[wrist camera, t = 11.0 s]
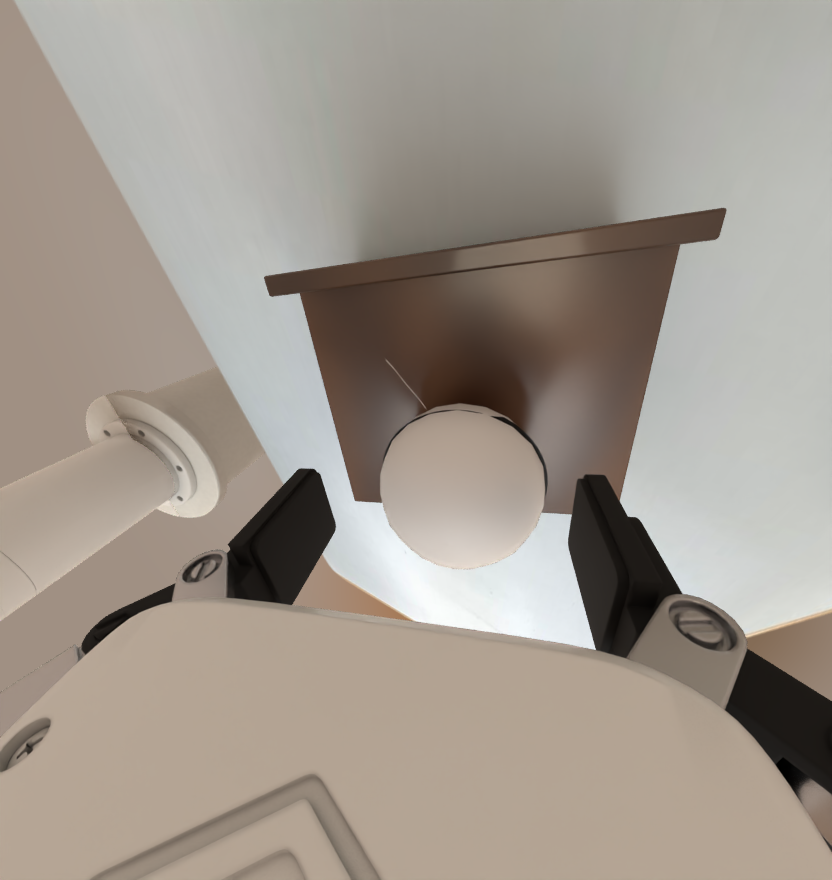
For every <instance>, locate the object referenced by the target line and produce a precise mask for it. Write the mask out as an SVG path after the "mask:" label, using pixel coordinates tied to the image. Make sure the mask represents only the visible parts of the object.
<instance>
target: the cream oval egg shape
mask: <svg viewBox="0 0 832 880" xmlns="http://www.w3.org/2000/svg"><path fill="white" fill-rule="evenodd" d="M386 361H387V360H386ZM387 362H388V361H387ZM388 363H389V362H388ZM389 365H390V366H391V367H392V368H393V369H394V367H393V366H392V365H391V364H390V363H389ZM394 370H395V369H394ZM395 371H396V370H395ZM396 372H397V371H396ZM397 374H398V372H397ZM398 375H399V374H398ZM399 376H400V375H399ZM400 378H401V376H400ZM401 379H402V378H401ZM402 380H403V379H402ZM403 382H404V383H405V381H404V380H403ZM405 384H406V383H405ZM406 385H407V384H406ZM407 387H408V388H409V389H410V387H409V386H408V385H407ZM410 390H411V389H410ZM411 391H412V390H411ZM412 392H413V391H412ZM413 393H414V392H413ZM414 394H415V393H414ZM415 396H416V397H417V395H416V394H415ZM417 398H418V397H417ZM418 399H419V398H418ZM419 400H420V399H419ZM420 402H421V400H420ZM421 403H422V402H421ZM422 404H423V403H422ZM423 406H424V404H423ZM424 407H425V406H424ZM425 408H426V407H425ZM547 486H548V475H547V469H546V465H545V462H544V459H543V456H542V454H541V453H540V451H539V449H538V447H537V446H536V444H535V443H534V442H533V440H532V439H531V438H530V437H529V436H528V435H527V434H526V433H525V432H524V431H523V430H522V429H521V428H520V427H518V426H517V425H516V424H515V423H514V422H513V421H512V420H510V419H509V418H508V417H506V416H504V415H502V414H500V413H497V412H495V411H493V410H491V409H489V408H487V407H482V406H475V405H468V404H462V403H459V404H452V405H446V406H439V407H435V408H433V409H431V410H429V411H427V412H425V413H423V414H421V415H419V416H417V417H415V418H414V419H413V420H412V421H411V422H409V423H407V424H406V425H405V426H403V427H402V428H401V429H400V430H399V431H398V432H397V433H396V434H395V435H394V437H393V438H392V439H391V441H390V442H389V444H388V446H387V449H386V451H385V454H384V458H383V465H382V470H381V474H380V495H381V499H382V503H383V507H384V511H385V513H386V516H387V519H388V521H389V524H390V526H391V528H392V529H393V530H394V532H395V533H396V534H397V535H398V537H399V538H400V539H401V541H402V542H404V543H405V544H406V545H407V546H408V547H409V548H410V549H411V550H412V551H414V552H415V553H416V554H418V555H419V556H420V557H422V558H423V559H425V560H427V561H429V562H432V563H434V564H436V565H439V566H443V567H447V568H451V569H473V568H478V567H483V566H486V565H490V564H493V563H496V562H498V561H500V560H502V559H504V558H506V557H508V556H510V555H512V554H513V553H515V552H516V550H517V549H518V548H519V547H520V546H521V545H522V544H523V543H524V542H525V541H526V539H527V538H528V537H529V535H530V534H531V533H532V531H533V530H534V528H535V527H536V526H537V523H538V521H539V518H540V515H541V512H542V509H543V506H544V499H545V496H546V493H547Z"/></svg>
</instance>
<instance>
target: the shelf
mask: <svg viewBox="0 0 832 880" xmlns="http://www.w3.org/2000/svg"><path fill="white" fill-rule="evenodd" d="M725 214H726V208H719V209H712V210H705V211H699V212H692V213H685V214H678V215H672V216H665V217H658V218H652V219H645V220H638V221H631V222H625V223H618V224H611V225H605V226H598V227H591V228H584V229H578V230H571V231H564V232H558V233H551V234H544V235H537V236H531V237H524V238H517V239H510V240H504V241H497V242H490V243H484V244H477V245H470V246H463V247H457V248H450V249H443V250H437V251H430V252H423V253H416V254H410V255H403V256H396V257H390V258H383V259H376V260H369V261H363V262H356V263H349V264H342V265H336V266H329V267H322V268H316V269H309V270H302V271H295V272H289V273H282V274H275V275H269V276H265V277H264V279H265V283H266V286H267V289H268V292H269V295H270V296H272V297H273V296H281V295H289V294H297V293H300V296H301V300H302V303H303V307H304V311H305V315H306V318H307V322H308V326H309V330H310V334H311V337H312V341H313V345H314V349H315V352H316V356H317V360H318V364H319V367H320V371H321V375H322V379H323V382H324V386H325V390H326V394H327V398H328V401H329V405H330V409H331V413H332V416H333V420H334V424H335V428H336V431H337V435H338V439H339V443H340V446H341V450H342V454H343V458H344V462H345V465H346V469H347V473H348V477H349V480H350V484H351V488H352V492H353V495H354V499H355V501H362V502H379V503H382V499H381V495H380V474H381V470H382V465H383V458H384V454H385V451H386V449H387V446H388V444H389V442H390V441H391V439H392V438H393V437H394V435H395V434H396V433H397V432H398V431H399V430H400V429H401V428H402V427H403V426H405V425H406V424H407V423H409V422H411V421H412V420H413V419H414V418H415V417H417V416H419V415H421V414H423V413H425V412H427V411H429V410H431V409H433V408H435V407H439V406H446V405H452V404H459V403H462V404H468V405H475V406H482V407H487V408H489V409H491V410H493V411H495V412H497V413H500V414H502V415H504V416H506V417H508V418H509V419H510V420H512V421H513V422H514V423H515V424H516V425H517V426H518V427H520V428H521V429H522V430H523V431H524V432H525V433H526V434H527V435H528V436H529V437H530V438H531V439H532V440H533V442H534V443H535V444H536V446H537V447H538V449H539V451H540V453H541V454H542V456H543V459H544V462H545V465H546V469H547V475H548V486H547V493H546V496H545V499H544V506H543V509H542V513H559V514H572V511H573V504H574V497H575V490H576V484H577V480H578V479H583V477H584V475H585V474H595V475H605V476H606V477H607V479H608V481H609V483H610V484H611V486H612V488H613V490H614V492H615V494H616V496H617V498H618V499H619V501H620V496H621V492H622V488H623V484H624V479H625V475H626V471H627V467H628V463H629V458H630V454H631V450H632V446H633V441H634V437H635V433H636V429H637V425H638V420H639V416H640V412H641V408H642V403H643V399H644V395H645V391H646V386H647V382H648V378H649V374H650V370H651V365H652V361H653V357H654V353H655V348H656V344H657V340H658V336H659V332H660V327H661V323H662V319H663V315H664V310H665V306H666V302H667V298H668V293H669V289H670V285H671V281H672V277H673V272H674V268H675V264H676V260H677V255H678V251H679V247H680V244H687V243H694V242H702V241H710V240H715V239H717V238H718V237H719V235H720V232H721V228H722V224H723V221H724V217H725ZM386 360H387V361H388V362H389V363H390V364H391V365H392V366H393V367H394V369H395V370H396V371H397V372H398V374H399V375H400V376H401V378H402V379H403V380H404V381H405V383H406V384H407V385H408V386H409V387H410V389H411V390H412V391H413V392H414V393H415V394H416V395H417V397H418V398H419V399H420V400H421V402H422V403H423V404H424V406H425V407H426V408H425V407H424V406H423V404H422V403H421V402H420V400H419V399H418V398H417V397H416V396H415V394H414V393H413V392H412V391H411V390H410V389H409V388H408V387H407V385H406V384H405V383H404V382H403V380H402V379H401V378H400V376H399V375H398V374H397V372H396V371H395V370H394V369H393V368H392V367H391V366H390V365H389V363H388V362H387V361H386Z"/></svg>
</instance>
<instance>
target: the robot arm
mask: <svg viewBox="0 0 832 880" xmlns="http://www.w3.org/2000/svg"><path fill="white" fill-rule="evenodd" d="M99 442H100V443H98V444H96V445H94V446H92V447H90V448H87V449H85V450H84V451H81V452H79V453H76V454H74V455H73V456H70V457H68V458H65V459H64V460H61V461H59V462H57V463H55V464H52V465H50V466H48V467H46V468H44V469H41V470H39V471H37V472H35V473H33V474H30V475H28V476H26V477H24V478H22V479H20V480H17V481H15V482H13V483H11V484H9V485H7V486H4V487H2V488H0V621H1V620H3V619H4V618H5V617H7V616H8V615H9V614H11V613H12V612H14V611H15V610H16V609H18V608H19V607H21V606H22V605H23V604H25V603H26V602H27V601H29V600H30V599H32V598H33V597H34V596H35V595H37V594H38V593H40V592H41V591H43V590H44V589H46V588H47V587H48V586H49V585H51V584H52V583H54V582H55V581H57V580H58V579H59V578H61V577H62V576H64V575H65V574H66V573H68V572H69V571H70V570H72V569H73V568H75V567H76V566H77V565H79V564H80V563H81V562H83V561H84V560H86V559H87V558H88V557H90V556H91V555H93V554H94V553H95V552H97V551H98V550H99V549H101V548H102V547H104V546H105V545H106V544H108V543H109V542H111V541H112V540H113V539H114V538H116V537H117V536H119V535H120V534H122V533H123V532H124V531H126V530H127V529H128V528H130V527H131V526H133V525H134V524H135V523H137V522H138V521H140V520H141V519H142V518H144V517H145V516H146V515H148V514H149V513H151V512H152V511H153V510H155V509H156V508H158V507H159V506H160V505H166V506H178V505H182V504H184V503H185V502H187V501H188V500H189V499H191V498H192V497H193V496H194V494H195V492H196V487H197V482H196V476H195V473H194V470H193V468H192V466H191V464H190V462H189V460H188V459H187V457H186V456H185V454H184V453H183V452H182V451H181V450H180V449H179V447H178V446H177V445H176V444H175V443H174V442H173V441H172V440H171V439H169V438H168V437H167V436H166V435H164V434H163V433H162V432H160V431H159V430H157V429H155V428H154V427H152V426H150V425H148V424H146V423H143V422H141V421H137V420H134V419H126V418H123V419H117V420H115V421H113V422H110V423H108V424H106V425H105V426H104V427H103V428H102V430H101V431H100V436H99ZM335 528H336V524H335V520H334V517H333V514H332V511H331V508H330V504H329V501H328V498H327V495H326V491H325V488H324V485H323V482H322V479H321V476H320V474H319V473H317V472H316V470H315V469H298V470H297V471H296V472H295V473H294V474H293V475H292V477H291V478H290V479H289V480H288V481H287V482H286V483H285V484H284V485H283V486H282V487H281V488H280V489H279V490H278V491H277V492H276V494H275V495H274V496H273V497H272V498H271V499H270V500H269V501H268V502H267V503H266V504H265V505H264V507H262V508H261V510H260V511H259V512H258V513H257V514H256V515H255V516H254V517H253V518H252V519H251V520H250V521H249V522H248V523H247V525H246V526H245V527H244V528H243V529H242V530H241V531H240V532H239V533H238V534H237V535H236V536H235V537H234V539H232V540H231V541H230V543H229V544H228V545H229V547H230V551H229V552H228V553H226V552H224V551H222V550H211V551H208V552H204V553H202V554H200V555H198V556H196V557H195V558H193V559H192V560H190V561H189V562H188V563H187V564H186V565H185V566H183V568H182V569H181V570H180V572H179V573H178V576H177V578H176V583H175V584H173V585H171V586H168V587H166V588H164V589H162V590H160V591H158V592H156V593H153V594H152V595H149V596H147V597H145V598H143V599H140V600H138V601H136V602H134V603H132V604H130V605H128V606H125V607H123V608H121V609H119V610H117V611H115V612H113V613H111V614H109V615H108V616H106V617H105V618H103V619H102V620H101V621H100V622H99V623H98V624H97V625H95V626H94V627H93V628H92V629H91V630H90V632H89V633H88V634H87V635H86V637H85V639H84V641H83V643H82V646H81V647H77V646H76V645H73V646H72V647H70V648H69V649H67V650H66V651H64V652H63V653H61V654H59V655H58V656H56V657H55V658H53V659H51V660H50V661H48V662H47V663H45V664H44V665H42V666H41V667H39V668H37V669H36V670H34V671H33V672H31V673H30V674H28V675H26V676H25V677H23V678H22V679H20V680H19V681H17V682H15V683H14V684H12V685H11V686H9V687H8V688H6V689H5V690H3V691H1V692H0V880H832V701H830V700H829V699H827V698H825V697H824V696H822V695H821V694H819V693H817V692H816V691H814V690H813V689H811V688H809V687H808V686H806V685H805V684H803V683H802V682H800V681H798V680H797V679H795V678H793V677H792V676H790V675H789V674H787V673H786V672H784V671H782V670H781V669H779V668H778V667H776V666H774V665H773V664H771V663H770V662H768V661H766V660H765V659H763V658H762V657H760V656H758V655H757V654H755V653H754V652H752V651H750V650H748V649H747V639H746V637H745V634H744V632H743V630H742V629H741V628H740V626H739V625H738V624H737V622H736V621H735V620H734V619H733V618H732V617H730V616H729V615H728V614H727V613H726V612H725V611H723V610H722V609H720V608H719V607H717V606H715V605H714V604H712V603H710V602H708V601H706V600H703V599H701V598H699V597H695V596H691V595H687V594H682V592H681V591H680V589H679V587H678V585H677V584H676V582H675V580H674V578H673V577H672V575H671V573H670V571H669V570H668V568H667V566H666V564H665V563H664V561H663V559H662V558H661V556H660V554H659V552H658V551H657V549H656V547H655V545H654V544H653V542H652V540H651V538H650V537H649V535H648V533H647V531H646V530H645V528H644V526H643V525H642V523H641V522H640V520H639V519H638V518H636V517H628V516H627V514H626V512H625V511H624V509H623V507H622V505H621V503H620V501H619V499H618V498H617V496H616V494H615V492H614V490H613V488H612V486H611V484H610V483H609V481H608V479H607V477H606V476H605V475H595V474H585V475H584V477H583V479H578V480H577V484H576V490H575V497H574V504H573V511H572V517H571V524H570V531H569V538H568V546H569V551H570V555H571V559H572V562H573V566H574V570H575V574H576V577H577V581H578V585H579V588H580V592H581V596H582V600H583V603H584V607H585V611H586V615H587V618H588V622H589V626H590V629H591V633H592V637H593V641H594V644H595V648H596V650H592V649H587V648H583V647H578V646H573V645H568V644H562V643H556V642H550V641H543V640H537V639H531V638H524V637H518V636H512V635H505V634H498V633H491V632H484V631H477V630H470V629H463V628H456V627H449V626H442V625H435V624H428V623H421V622H414V621H406V620H399V619H392V618H385V617H378V616H370V615H363V614H356V613H348V612H341V611H333V610H325V609H317V608H310V607H303V606H295V605H292V604H293V602H294V601H295V599H296V597H297V596H298V594H299V592H300V590H301V589H302V587H303V585H304V584H305V582H306V580H307V578H308V577H309V575H310V573H311V572H312V570H313V568H314V566H315V565H316V563H317V561H318V560H319V558H320V556H321V555H322V553H323V551H324V549H325V548H326V546H327V544H328V543H329V541H330V539H331V537H332V536H333V534H334V532H335Z"/></svg>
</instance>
